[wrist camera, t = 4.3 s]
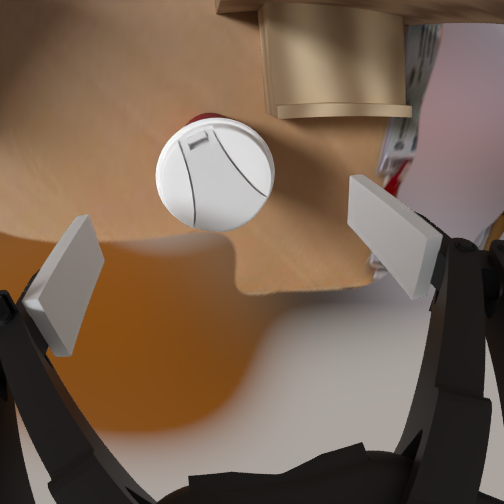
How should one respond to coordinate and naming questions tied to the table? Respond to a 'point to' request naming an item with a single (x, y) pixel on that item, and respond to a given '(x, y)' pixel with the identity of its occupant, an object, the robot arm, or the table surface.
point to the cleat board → (345, 51)
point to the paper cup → (215, 173)
